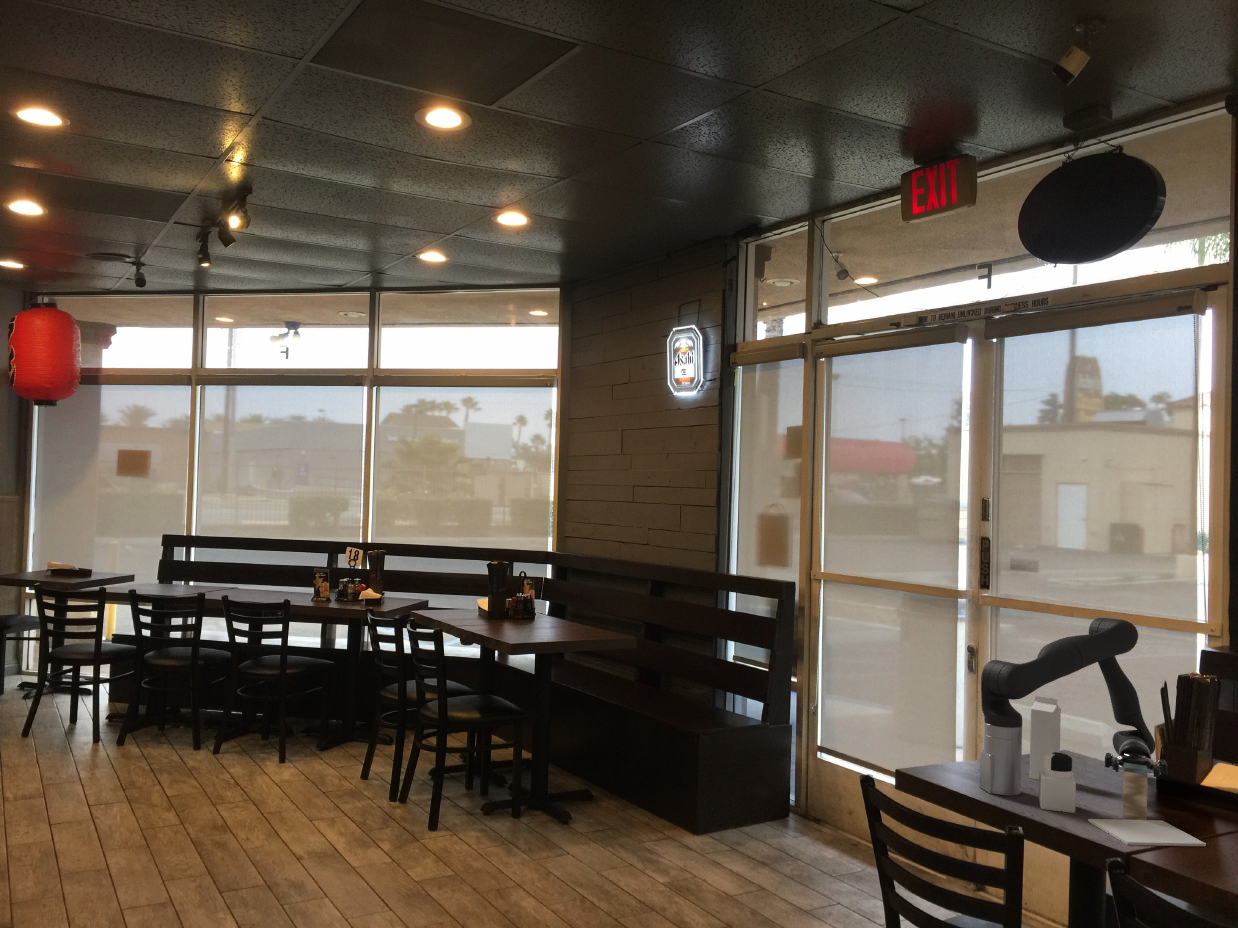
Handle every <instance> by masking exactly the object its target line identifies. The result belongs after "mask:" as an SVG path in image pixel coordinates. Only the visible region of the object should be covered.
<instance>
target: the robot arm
mask: <svg viewBox="0 0 1238 928" xmlns="http://www.w3.org/2000/svg"><path fill="white" fill-rule="evenodd" d="M1088 627H1089V628H1088V634H1080V635H1072V636H1066V637H1063V638H1059V639H1057V640H1053V641H1051V642H1049V643H1048V644H1047V643H1046V645H1044V646H1043V647H1042V648H1041V649H1040V650H1039V652H1038V655H1037V657H1036V658H1035V659H1032V660H1030V661H1027V662H1022V663H1014V662H1009V661H1005V660H1000V659H999V660H998V659H993V660H989V661H988V662H986V664H985V665H984V666H983V668H982V671H981V677H980V696H981V699H980V700H981V704H980V705H981V711H982V713H983V717H984V718H983V719H984V720H983V722H984V726H983V729H984V730H983V750H982V749H981V750H980V759H979V763H980V764H979V788H981V789H982V790H984V791H985V792H987V793H988V794H994V795H1000V796H1001V795H1002V796H1018V795H1021V794H1022V793H1021V792H1022V755H1023V754H1022V753H1023V752H1022V751H1023V750H1022V749H1023V748H1022V747H1023V743H1022V742H1023V716H1022V714H1021V713H1020V712H1019V711H1017V710H1016V709H1015V708H1014V706H1012V704H1011V702H1010V700H1011V701H1012V700H1020V699H1023V698H1025V697H1027V696H1029V695H1030V694H1032V693H1033V692H1036V691H1037V690H1038V689H1039V688H1042V687H1043V686H1045V685H1047V684H1049V683H1052V682H1054V681H1057V680H1059V679H1061V678H1063V677H1066V676H1069V675H1072V674H1074V673H1076V672H1078V671H1080V670H1082V669H1085V668H1087V667H1089V666H1091V665H1094V664H1096V663H1098V666H1099V669H1100V671H1101V674H1102V677H1103V678H1104V682H1105V684H1106V687H1107V690H1108V694H1109V699H1110V703H1111V707H1112V712H1113V717H1114V720H1115V722H1116V723H1118V724H1119V725H1123V726H1129V727H1133V728H1135V729H1127V730H1118V731H1117V732H1114V734H1113V736H1112V740H1111V741H1112V747H1113V748H1114V751H1115V753H1116V754H1117V756H1114V755H1113V754H1112V753H1110V752H1106V753H1105V756H1104V767H1105V768H1107V769H1109V768H1111V767H1112V770H1113V771H1115V772H1116V773H1119V772H1120V771H1124V763H1130V764H1137V765H1145V766H1147V774H1153V777H1154V778H1157V777H1158V776H1159V777H1160V776H1161V774H1162V775H1163V776H1168V774H1169V773H1168V767H1169V766H1168V763H1167V761H1166V759H1159V760H1158V761H1155V760H1154V759H1152V756H1151V755H1152V754H1154V753H1155V750H1156V741H1155V739H1154V737H1153V735H1152V733H1151V732H1150V730H1149V728H1148V726H1147V724H1146V722H1145V720H1144V717H1143V713H1142V710H1141V704H1140V700H1139V699H1140V698H1139V696H1138V693H1137V690H1136V688H1135V687H1134V685H1133V683H1132V682H1131V679H1129V678H1128V677H1127V675H1126V674H1125V672H1124V670H1123V669H1122V668H1121V666H1120V664H1119V663H1118V660H1117V658H1116V656H1119V655H1123V654H1127V653H1128V652H1131V650H1133V649H1134V648H1135V646H1136V645H1137V643H1138V639H1139V632H1138V629H1137V627H1136V626H1135V625H1134V624H1133V623H1132V622H1130V621H1127V620H1125V619H1119V618H1112V617H1111V618H1110V617H1097V618H1094V619H1093V620H1092V621H1091V623H1090V625H1089V626H1088Z"/></svg>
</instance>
